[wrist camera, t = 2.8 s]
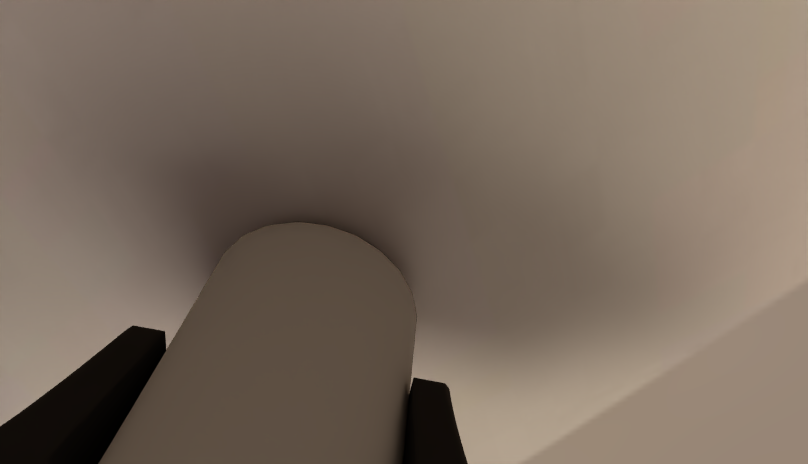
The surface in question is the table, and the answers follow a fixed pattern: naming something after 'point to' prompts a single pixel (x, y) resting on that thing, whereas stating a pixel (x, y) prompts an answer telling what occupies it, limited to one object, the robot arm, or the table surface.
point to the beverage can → (283, 359)
